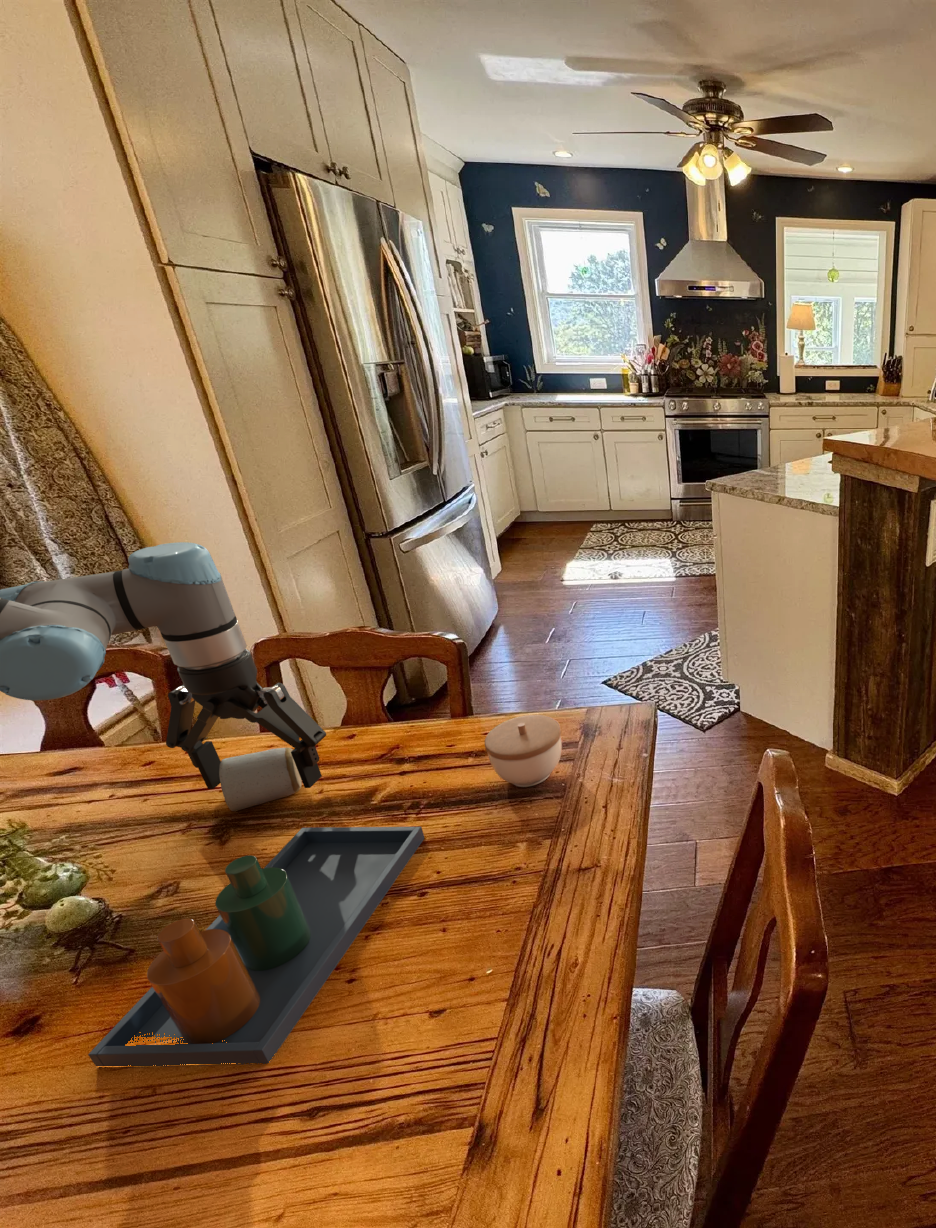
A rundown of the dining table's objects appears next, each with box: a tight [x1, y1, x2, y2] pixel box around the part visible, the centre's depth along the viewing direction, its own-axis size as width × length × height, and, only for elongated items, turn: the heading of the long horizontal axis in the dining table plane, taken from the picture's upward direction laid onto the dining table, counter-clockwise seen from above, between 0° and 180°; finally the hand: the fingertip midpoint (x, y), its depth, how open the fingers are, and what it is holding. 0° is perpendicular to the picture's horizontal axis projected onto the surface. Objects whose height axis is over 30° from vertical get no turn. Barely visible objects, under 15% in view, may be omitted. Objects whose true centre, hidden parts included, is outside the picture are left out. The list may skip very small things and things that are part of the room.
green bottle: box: [214, 854, 311, 971], centre depth 71 cm, size 6×6×12 cm
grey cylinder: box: [219, 747, 303, 812], centre depth 96 cm, size 11×8×8 cm
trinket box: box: [484, 714, 563, 788], centre depth 101 cm, size 11×11×9 cm
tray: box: [87, 826, 425, 1067], centre depth 75 cm, size 16×30×3 cm, turn 3°
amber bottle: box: [146, 918, 260, 1044], centre depth 64 cm, size 6×6×12 cm
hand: (266, 782), depth 96 cm, fingers open, 13 cm apart
